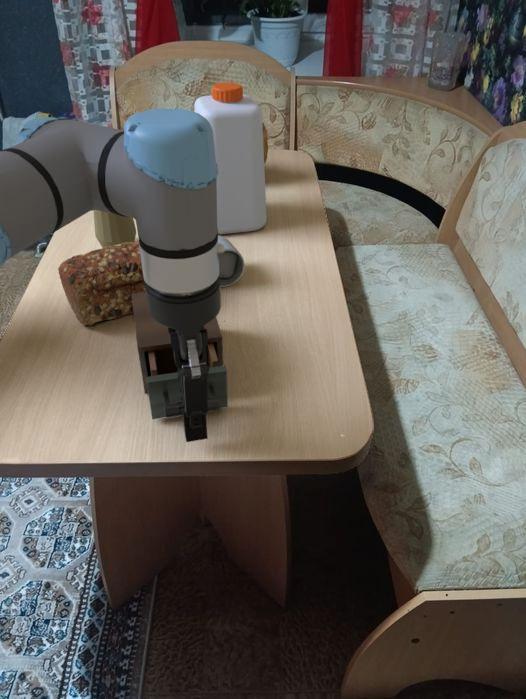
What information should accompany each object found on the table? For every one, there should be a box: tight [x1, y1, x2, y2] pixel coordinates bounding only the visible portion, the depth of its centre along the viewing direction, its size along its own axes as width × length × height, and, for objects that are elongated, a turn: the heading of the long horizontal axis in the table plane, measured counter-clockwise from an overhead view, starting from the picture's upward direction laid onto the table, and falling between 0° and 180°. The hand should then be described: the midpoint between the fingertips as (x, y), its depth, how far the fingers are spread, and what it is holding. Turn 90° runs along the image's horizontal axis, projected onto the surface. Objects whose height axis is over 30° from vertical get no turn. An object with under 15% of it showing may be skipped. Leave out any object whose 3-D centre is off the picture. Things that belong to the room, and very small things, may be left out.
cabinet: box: [131, 292, 224, 395], centre depth 82 cm, size 14×12×9 cm
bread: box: [57, 241, 146, 326], centre depth 94 cm, size 19×11×10 cm, turn 122°
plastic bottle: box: [193, 81, 268, 235], centre depth 113 cm, size 15×15×28 cm
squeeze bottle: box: [92, 210, 137, 249], centre depth 105 cm, size 8×8×18 cm
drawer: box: [146, 342, 229, 420], centre depth 76 cm, size 16×10×7 cm, turn 14°
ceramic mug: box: [217, 234, 245, 288], centre depth 101 cm, size 11×8×8 cm
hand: (196, 435), depth 69 cm, fingers closed
